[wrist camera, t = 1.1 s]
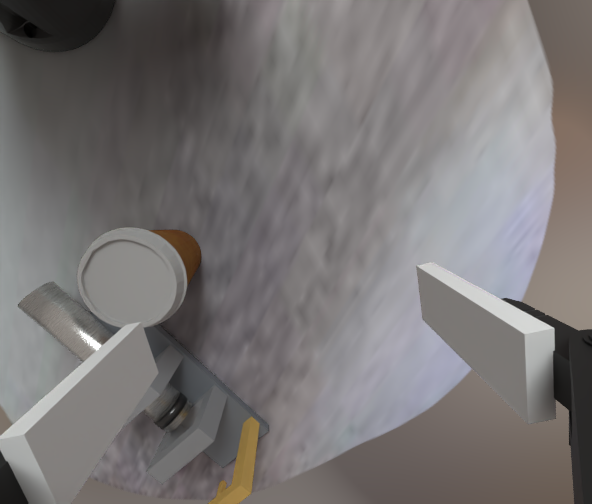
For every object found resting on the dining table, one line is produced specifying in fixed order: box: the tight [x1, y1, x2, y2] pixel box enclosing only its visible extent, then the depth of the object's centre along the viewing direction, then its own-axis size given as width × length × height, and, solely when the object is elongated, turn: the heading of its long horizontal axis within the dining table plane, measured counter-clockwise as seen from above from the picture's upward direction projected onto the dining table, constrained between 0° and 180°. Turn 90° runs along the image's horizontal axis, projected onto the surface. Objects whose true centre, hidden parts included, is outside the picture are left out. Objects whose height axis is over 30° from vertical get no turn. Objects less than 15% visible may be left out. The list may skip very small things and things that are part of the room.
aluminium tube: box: [18, 282, 192, 433], centre depth 37 cm, size 22×4×4 cm, turn 42°
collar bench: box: [90, 312, 269, 504], centre depth 37 cm, size 28×9×11 cm, turn 42°
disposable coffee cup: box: [77, 227, 201, 328], centre depth 33 cm, size 10×10×12 cm
